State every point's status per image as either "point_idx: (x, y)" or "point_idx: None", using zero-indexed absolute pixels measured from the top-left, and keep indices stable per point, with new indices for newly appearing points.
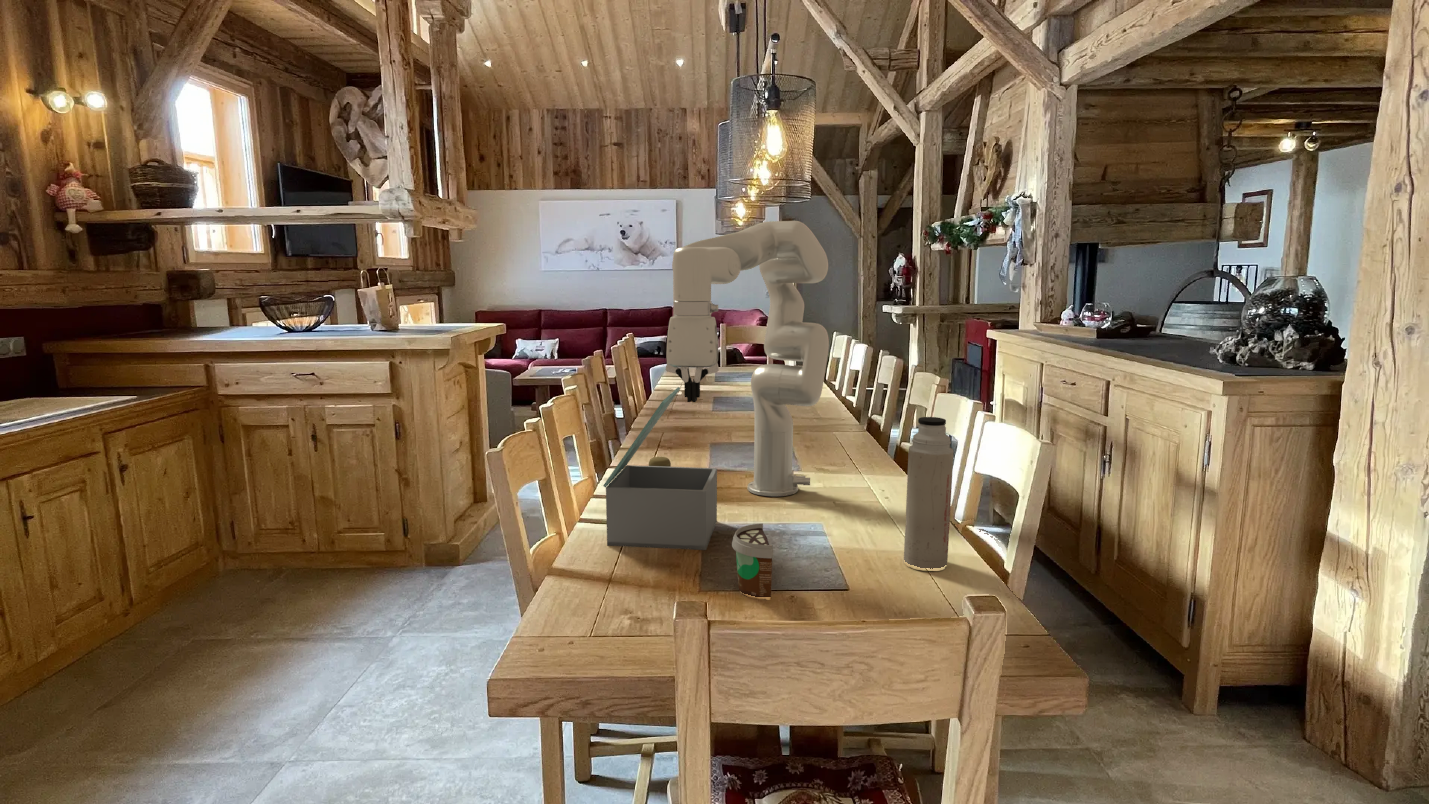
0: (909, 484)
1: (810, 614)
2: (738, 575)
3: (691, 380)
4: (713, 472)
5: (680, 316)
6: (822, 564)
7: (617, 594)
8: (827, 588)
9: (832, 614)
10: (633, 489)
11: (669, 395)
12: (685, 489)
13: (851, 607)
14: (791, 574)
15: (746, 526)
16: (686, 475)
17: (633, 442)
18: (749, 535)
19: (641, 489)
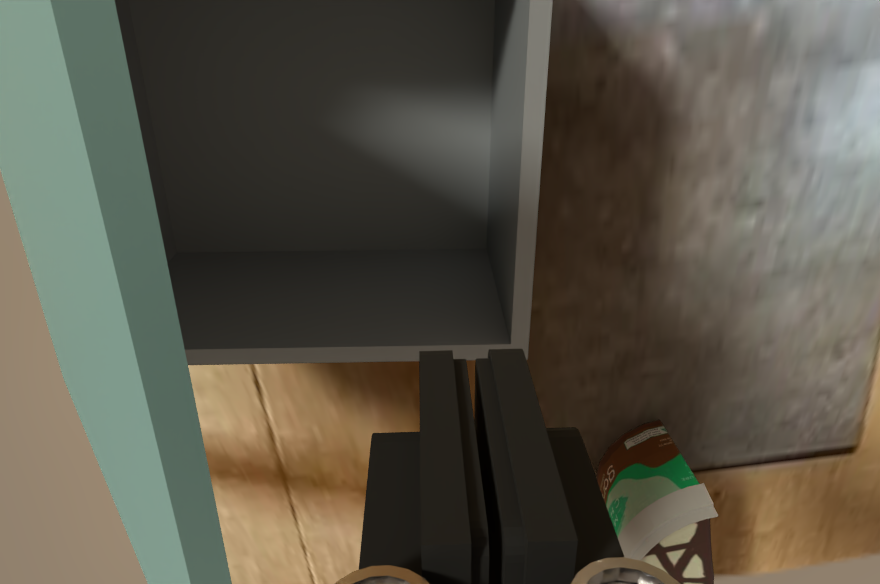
0: None
1: (738, 556)
2: None
3: (461, 548)
4: (543, 14)
5: None
6: (839, 315)
7: (327, 533)
8: (807, 449)
9: (783, 551)
10: (206, 362)
11: (195, 578)
12: (435, 345)
13: (831, 522)
14: (737, 388)
15: (663, 536)
16: None
17: (127, 533)
18: (665, 559)
19: (242, 362)
